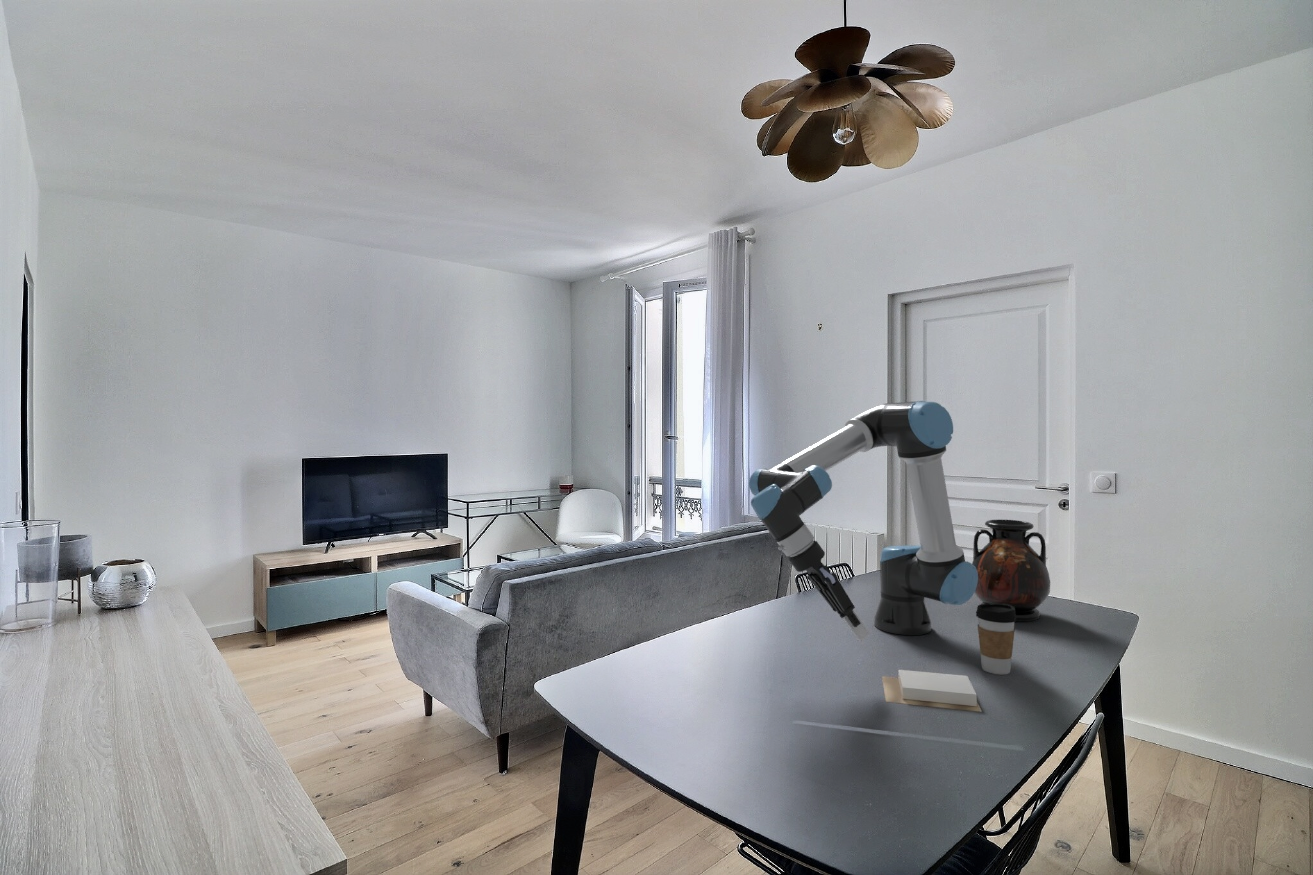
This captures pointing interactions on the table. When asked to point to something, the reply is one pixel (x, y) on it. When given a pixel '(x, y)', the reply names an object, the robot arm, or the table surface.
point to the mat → (895, 696)
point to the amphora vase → (1011, 568)
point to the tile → (937, 687)
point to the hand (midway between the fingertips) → (864, 637)
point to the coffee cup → (996, 636)
